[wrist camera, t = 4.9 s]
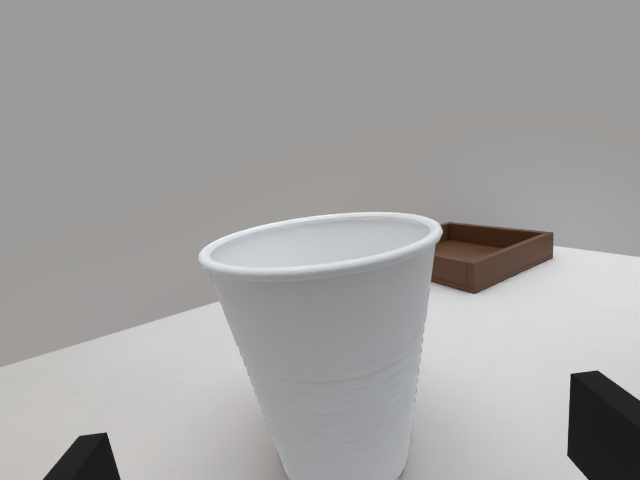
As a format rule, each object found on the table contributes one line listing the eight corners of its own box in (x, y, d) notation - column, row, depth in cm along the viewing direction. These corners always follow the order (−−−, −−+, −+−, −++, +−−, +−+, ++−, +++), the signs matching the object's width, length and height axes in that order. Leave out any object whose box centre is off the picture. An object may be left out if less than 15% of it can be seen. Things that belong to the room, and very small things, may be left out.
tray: (552, 257, 40) (553, 232, 40) (474, 293, 33) (473, 263, 33) (449, 241, 53) (448, 222, 52) (375, 265, 46) (373, 243, 45)
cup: (455, 602, 11) (441, 269, 9) (197, 524, 14) (136, 271, 12) (451, 396, 20) (443, 206, 18) (293, 379, 24) (268, 217, 21)
